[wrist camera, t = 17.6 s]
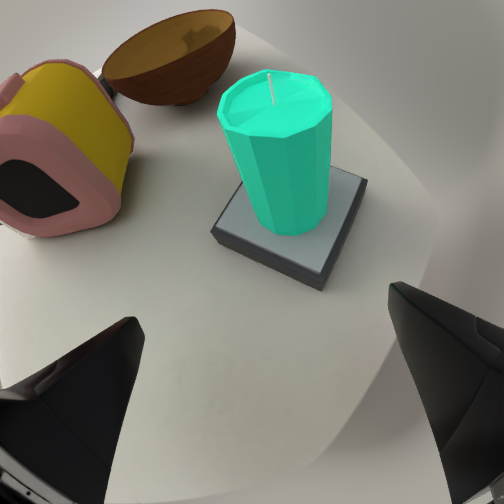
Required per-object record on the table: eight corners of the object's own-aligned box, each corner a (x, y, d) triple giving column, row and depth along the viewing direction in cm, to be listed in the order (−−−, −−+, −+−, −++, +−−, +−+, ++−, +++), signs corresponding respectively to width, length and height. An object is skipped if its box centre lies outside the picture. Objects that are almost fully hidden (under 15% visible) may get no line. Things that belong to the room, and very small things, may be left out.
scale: (364, 194, 25) (369, 175, 22) (321, 291, 23) (323, 281, 20) (269, 160, 28) (265, 140, 25) (218, 243, 26) (207, 228, 23)
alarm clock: (36, 245, 31) (-66, 178, 14) (54, 180, 35) (-26, 106, 18) (139, 223, 28) (8, 96, 11) (152, 145, 32) (71, 24, 15)
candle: (314, 247, 21) (314, 126, 10) (240, 223, 23) (183, 107, 12) (336, 182, 22) (344, 55, 11) (269, 164, 24) (238, 44, 13)
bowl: (145, 157, 32) (103, 101, 23) (127, 96, 39) (100, 53, 30) (273, 93, 32) (259, 27, 23) (222, 49, 39) (206, 2, 30)
